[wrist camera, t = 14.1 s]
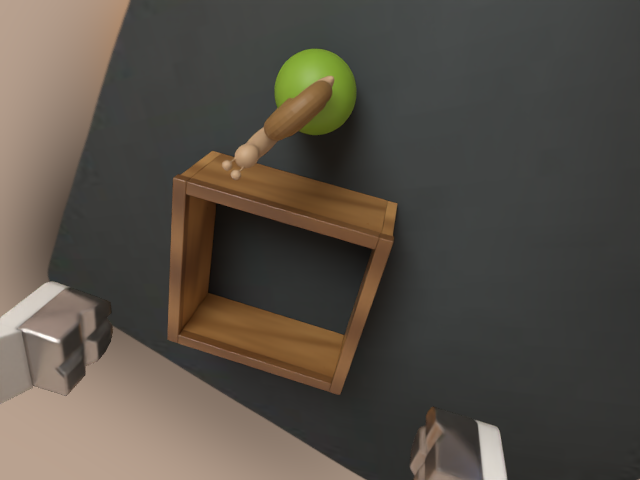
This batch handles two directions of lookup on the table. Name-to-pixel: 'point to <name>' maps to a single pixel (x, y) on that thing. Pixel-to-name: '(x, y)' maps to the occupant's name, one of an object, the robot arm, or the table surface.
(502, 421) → the table surface
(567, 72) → the table surface
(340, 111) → the snail figurine
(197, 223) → the open wooden box
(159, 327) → the table surface
